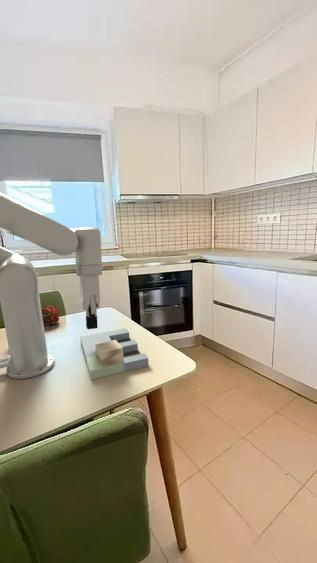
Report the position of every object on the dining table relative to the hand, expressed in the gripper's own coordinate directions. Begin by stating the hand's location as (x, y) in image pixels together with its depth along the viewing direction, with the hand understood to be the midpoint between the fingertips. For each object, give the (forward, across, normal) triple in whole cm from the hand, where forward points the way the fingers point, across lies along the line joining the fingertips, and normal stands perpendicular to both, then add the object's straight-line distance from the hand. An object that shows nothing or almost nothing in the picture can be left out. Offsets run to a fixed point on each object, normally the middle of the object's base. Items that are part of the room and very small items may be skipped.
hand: (91, 327), depth 86 cm
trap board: (+8, +4, +5) cm, 10 cm away
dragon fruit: (+9, -34, -13) cm, 38 cm away
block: (+6, +12, +3) cm, 14 cm away
